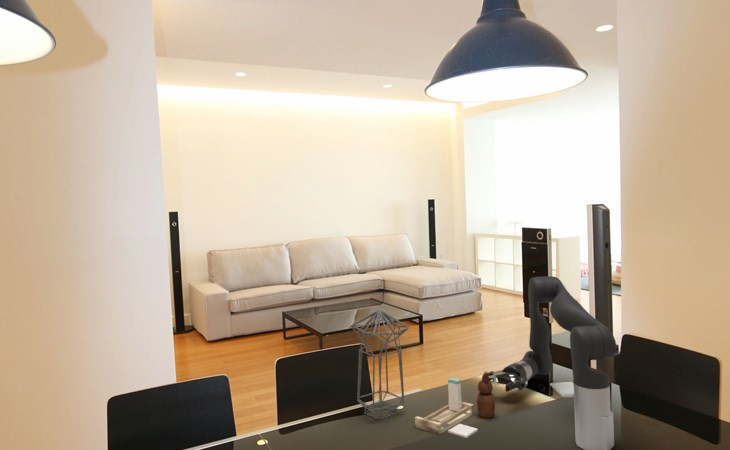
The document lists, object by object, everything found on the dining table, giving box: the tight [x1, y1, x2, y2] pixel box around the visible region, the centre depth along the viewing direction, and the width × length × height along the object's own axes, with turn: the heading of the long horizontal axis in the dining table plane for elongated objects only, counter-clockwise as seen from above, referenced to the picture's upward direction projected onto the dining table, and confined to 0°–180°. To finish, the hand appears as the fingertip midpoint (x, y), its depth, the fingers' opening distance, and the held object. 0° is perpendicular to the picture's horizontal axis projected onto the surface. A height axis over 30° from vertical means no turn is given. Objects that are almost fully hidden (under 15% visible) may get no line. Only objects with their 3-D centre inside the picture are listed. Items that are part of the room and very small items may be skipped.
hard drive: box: [549, 381, 574, 398], centre depth 187 cm, size 2×8×12 cm
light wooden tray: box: [414, 399, 475, 435], centre depth 165 cm, size 9×20×3 cm, turn 137°
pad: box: [447, 423, 478, 439], centre depth 156 cm, size 6×6×1 cm
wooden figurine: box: [476, 371, 496, 418], centre depth 167 cm, size 7×6×15 cm
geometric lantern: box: [348, 309, 410, 421], centre depth 172 cm, size 16×16×35 cm
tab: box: [447, 377, 463, 412], centre depth 170 cm, size 4×2×10 cm, turn 47°
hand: (494, 386), depth 172 cm, fingers open, 8 cm apart
